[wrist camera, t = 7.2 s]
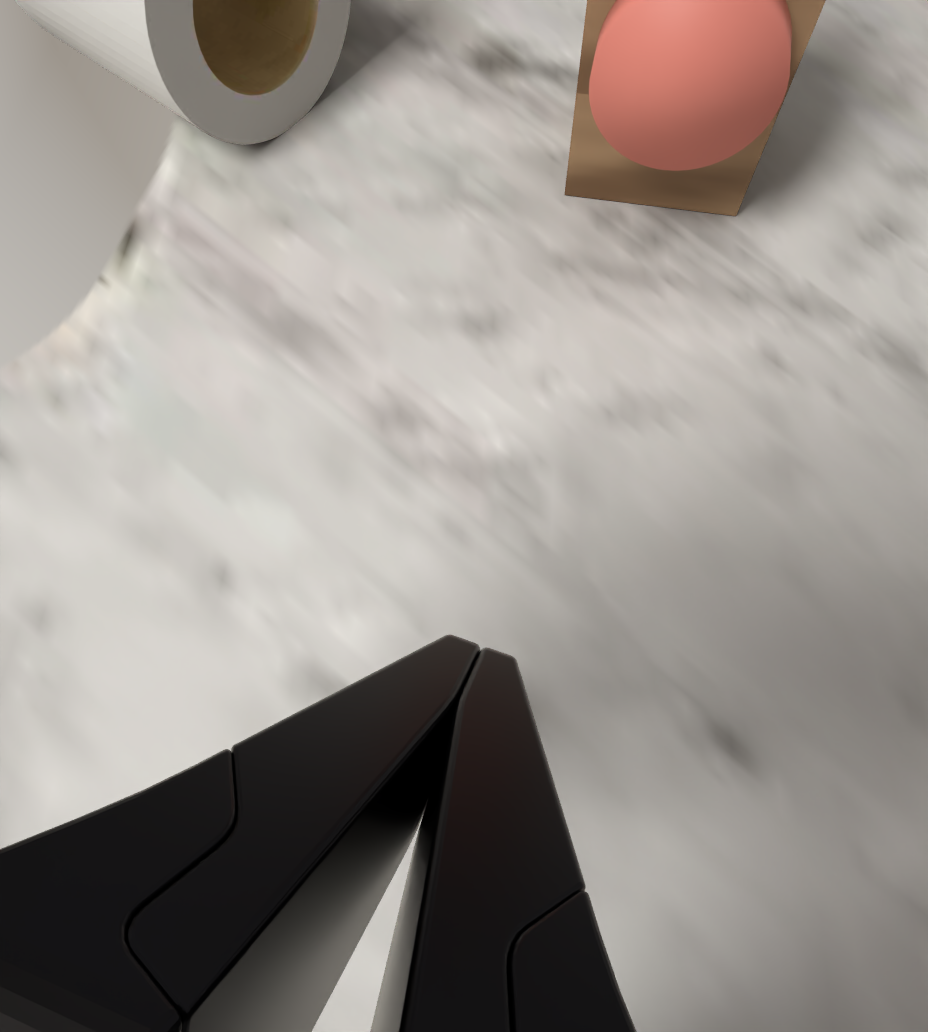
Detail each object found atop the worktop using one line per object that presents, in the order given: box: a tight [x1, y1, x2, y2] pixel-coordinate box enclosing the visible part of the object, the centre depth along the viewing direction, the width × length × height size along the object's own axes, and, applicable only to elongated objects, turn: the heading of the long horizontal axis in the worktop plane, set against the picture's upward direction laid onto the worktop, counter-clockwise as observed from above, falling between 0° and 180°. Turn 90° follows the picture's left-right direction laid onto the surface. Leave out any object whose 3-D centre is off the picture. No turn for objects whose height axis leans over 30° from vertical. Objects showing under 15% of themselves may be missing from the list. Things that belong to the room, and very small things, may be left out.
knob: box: [589, 0, 792, 171], centre depth 23 cm, size 8×6×6 cm
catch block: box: [565, 0, 826, 216], centre depth 25 cm, size 6×7×11 cm
